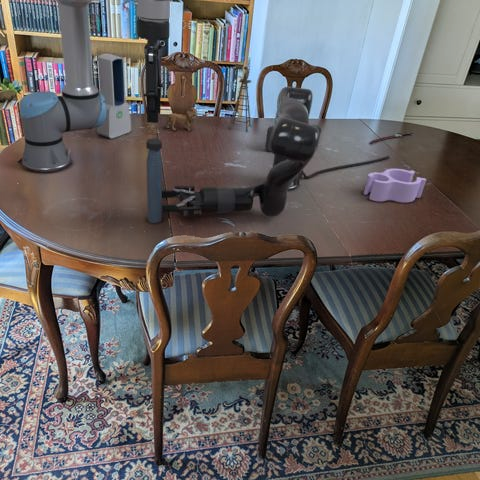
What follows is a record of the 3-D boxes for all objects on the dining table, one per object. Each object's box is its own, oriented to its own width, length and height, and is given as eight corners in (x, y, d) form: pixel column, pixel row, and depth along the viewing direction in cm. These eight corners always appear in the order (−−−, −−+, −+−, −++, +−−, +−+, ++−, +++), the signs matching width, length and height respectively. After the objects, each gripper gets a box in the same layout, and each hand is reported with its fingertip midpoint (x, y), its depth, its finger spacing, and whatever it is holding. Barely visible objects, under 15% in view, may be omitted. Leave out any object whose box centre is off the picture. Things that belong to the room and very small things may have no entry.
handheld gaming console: (315, 147, 196) (319, 124, 190) (317, 149, 194) (322, 126, 188) (264, 149, 189) (267, 125, 183) (266, 152, 187) (269, 127, 181)
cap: (150, 143, 126) (150, 137, 125) (164, 146, 125) (164, 140, 124) (143, 148, 123) (143, 142, 122) (157, 151, 122) (157, 145, 121)
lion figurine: (195, 126, 204) (195, 105, 199) (198, 130, 200) (199, 109, 195) (161, 127, 199) (161, 106, 194) (164, 131, 195) (164, 110, 190)
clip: (376, 205, 156) (381, 186, 152) (357, 188, 166) (361, 170, 162) (425, 200, 162) (431, 182, 159) (404, 184, 172) (409, 167, 168)
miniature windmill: (247, 131, 204) (254, 60, 188) (228, 128, 205) (234, 57, 189) (250, 125, 212) (258, 55, 196) (232, 122, 213) (238, 53, 197)
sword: (407, 132, 223) (408, 129, 223) (413, 134, 221) (413, 131, 221) (364, 143, 208) (365, 141, 207) (370, 146, 206) (370, 143, 205)
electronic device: (109, 139, 182) (104, 59, 166) (96, 134, 185) (89, 55, 169) (132, 131, 192) (129, 55, 175) (118, 127, 195) (114, 51, 178)
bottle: (151, 214, 138) (150, 138, 125) (164, 217, 137) (164, 141, 124) (145, 221, 134) (143, 143, 122) (157, 224, 134) (157, 146, 121)
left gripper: (141, 11, 114) (143, 105, 127) (130, 24, 98) (134, 129, 111) (172, 14, 115) (170, 107, 128) (166, 27, 99) (166, 131, 112)
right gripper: (213, 177, 140) (159, 178, 136) (222, 200, 129) (163, 201, 125) (212, 199, 144) (159, 200, 140) (220, 223, 133) (163, 225, 129)
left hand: (153, 117), depth 119 cm, fingers open, 6 cm apart
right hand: (161, 201), depth 133 cm, fingers open, 8 cm apart
